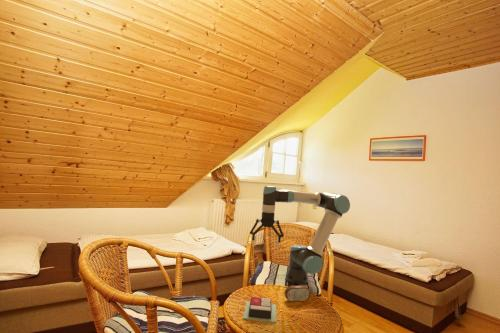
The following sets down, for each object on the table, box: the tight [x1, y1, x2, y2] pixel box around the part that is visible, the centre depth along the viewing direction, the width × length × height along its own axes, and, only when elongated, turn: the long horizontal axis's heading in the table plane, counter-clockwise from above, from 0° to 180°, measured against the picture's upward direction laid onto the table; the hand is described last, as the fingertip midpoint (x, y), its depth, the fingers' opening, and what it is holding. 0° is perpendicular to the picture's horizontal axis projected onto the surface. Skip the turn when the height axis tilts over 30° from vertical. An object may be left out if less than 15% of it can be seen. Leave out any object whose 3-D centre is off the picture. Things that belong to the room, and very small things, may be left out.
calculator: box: [249, 296, 272, 319], centre depth 146 cm, size 11×4×15 cm
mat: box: [242, 300, 277, 324], centre depth 146 cm, size 16×18×1 cm
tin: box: [284, 284, 311, 302], centre depth 162 cm, size 15×3×8 cm, turn 105°
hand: (265, 247), depth 172 cm, fingers open, 13 cm apart
